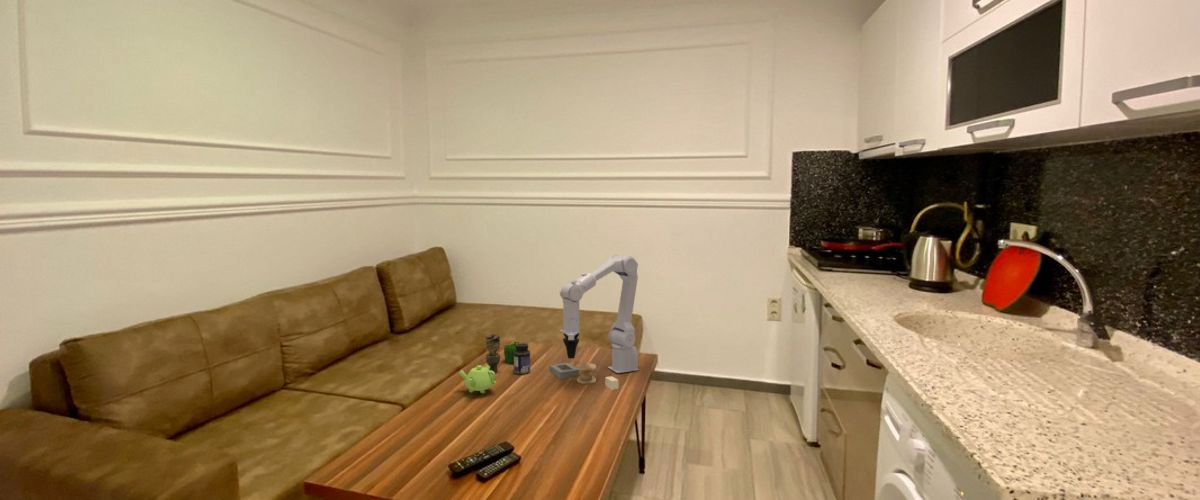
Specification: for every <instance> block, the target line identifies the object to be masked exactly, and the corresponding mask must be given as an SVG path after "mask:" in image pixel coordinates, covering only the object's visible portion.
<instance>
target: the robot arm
mask: <svg viewBox="0 0 1200 500" xmlns="http://www.w3.org/2000/svg"><path fill="white" fill-rule="evenodd" d="M638 266H639V263H638V262H637V260H636V259H635V257H633V256H626V255H619V254H615V255H612V256H611V257H608V258H607V260H606V261H605V262H604V263H602V265H600V266H599V267H598V268H596V269H595V270H594V271H592V272H583V273H581V275H580V276H579V277H578V278H576V279H572V281H571V282H570V283H566V284H564V285H562V287H561V290H560V291H559V295H560V297H561V298H562V307H563V308H562V309H563V310H562V311H563V312H562V313H563V315H562V318H563V324H562V325H563V326H562V327H563V328H561V329H560V330H559V333H562V334H563V335H564V337H563V339H562V341H563V343H564V345H565V349H566V354H567V359H575V357H576V351H577V347H578V344H579V342H580V339H579V336H580V333H581V329H580V301H581V300H582V298H583V297H584V294H585V293H586V292H588V291H589V290H591V289H592V288H593V287H595V286H596V285H597V281H599V280H600V279H602V278H604V277H605V276H607V275H609V274H611V273H615V274H617V275H618V276H619V277H620V279H621V280H622V284H621V292H620V298H619V304H618V310H617V311H618V312H617V318H616V320H615V322H613V323H612V324H611V327H610V328H611V329H610V331H609V332H608V341H609V342H610V344H611V346H612V347H611V348H612V351H611V352H612V353H611V354H612V359H611V360H612V361H611V364H612V365H611V366H607V368H608V370H611V371H613V372H615V373H616V374H620V373H621V374H622V373H630V372H634V371H639V367H638V365H639V364H638V363H639V359H638V358H639V355H638V349H637V347H636V346H635V343H636V334H635V333H636V328H635V327H634V326H633V324H632V319H633V318H632V317H633V311H634V304H635V297H636V291H637V287H638V286H637V285H638V278H639V277H638Z"/></svg>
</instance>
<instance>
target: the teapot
mask: <svg viewBox="0 0 1200 500" xmlns="http://www.w3.org/2000/svg"><path fill="white" fill-rule="evenodd" d="M458 374H459V375H460V376H461V377H462V379H463V380H464V386H465V387H466V388H467V389H468V393H474V392H475V391H476V392H477V391H478V392H479V393H480V394H485V393H486V390H490V389H491V388H492V387H493V386H496V385H497V381H496V380H495V378H496V372H493V371H491V370H490V366H489V365H488V364H487V365H485V367H484V366H483V365H481V364H480V365H479V364H478V365H476V366H475V367H473V368H471V369H470V370H469V372H468V374H466V372H464V370H463V369H461V370H460V371H458Z"/></svg>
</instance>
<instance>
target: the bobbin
mask: <svg viewBox="0 0 1200 500" xmlns="http://www.w3.org/2000/svg"><path fill="white" fill-rule="evenodd" d="M576 368H577V369H578V370H579V371H580V375H579V376H577V378H576V382H577V383H578V384H582V385H591V384H595V383H596V382H597V378H596V377H595V376H593V371H595V370H596V369H597V365H596V364H595V363H590V362H584V363H583V362H582V363H578V364H577V365H576Z"/></svg>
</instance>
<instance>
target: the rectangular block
mask: <svg viewBox="0 0 1200 500" xmlns="http://www.w3.org/2000/svg"><path fill="white" fill-rule="evenodd" d="M604 378H605V379H604V380H605V381H604V383H605V385H604V386H605V387H606V388H607V389H610V390H612V391H613V390H619V379H617V378H616V377H614V376H612V375H611V376H606V377H604Z"/></svg>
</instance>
